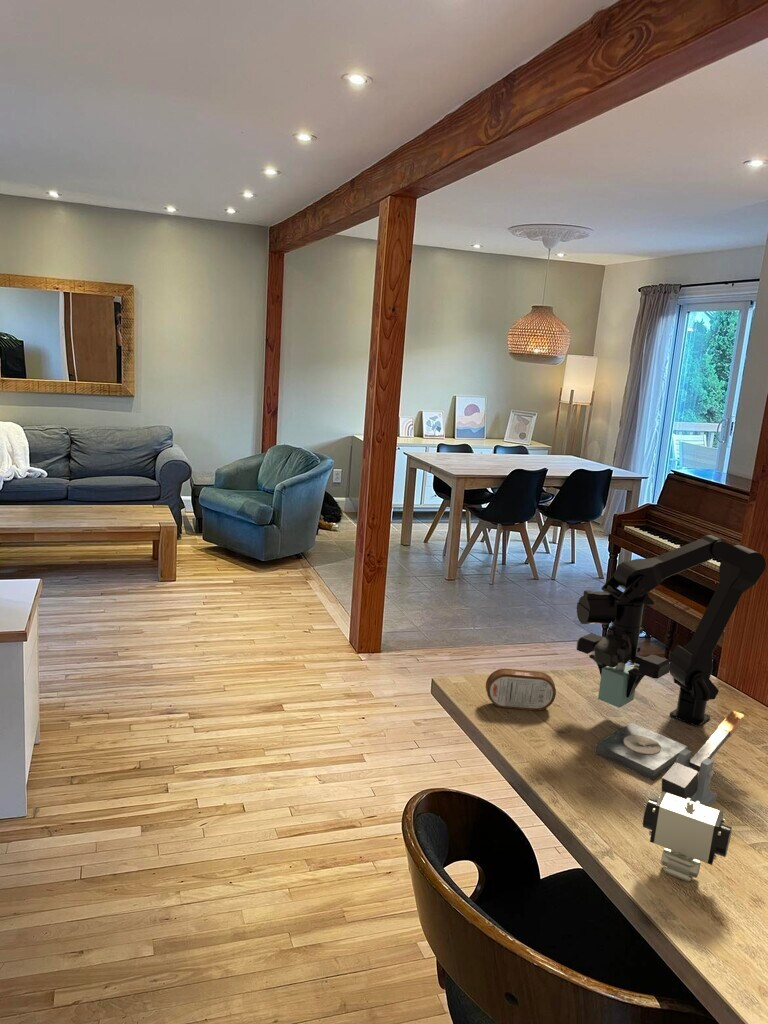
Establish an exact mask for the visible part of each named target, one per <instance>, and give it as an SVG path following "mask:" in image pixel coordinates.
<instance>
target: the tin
mask: <svg viewBox="0 0 768 1024" xmlns="http://www.w3.org/2000/svg"><path fill="white" fill-rule="evenodd" d="M556 689H557V688H556V685H555V682H554V680H553V678H552V677H551V676H550V675H548V674H547V673H545V672H543V671H537V670H526V669H514V668H500V669H497V670H495V671H493V672H492V673H491V674H490V675H489V676H488V677H487V679H486V683H485V690H486V694H487V697H488V699H489V701H490V702H491V703H492V704H493V705H494V706H497V707H499V708H503V709H516V710H527V711H543V710H546V709H547V708H549V707H550V706H551V705H552V704H554V701H555V699H556V694H557V691H556Z"/></svg>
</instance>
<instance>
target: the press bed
mask: <svg viewBox="0 0 768 1024" xmlns="http://www.w3.org/2000/svg"><path fill="white" fill-rule="evenodd" d="M688 748H689V747H688V745H685V744H683V743H681V742H679V741H676V740H675V739H674V740H673V739H672V738H669V737H666V736H664V735H662V734H660V733H656V731H655V732H654V731H653V730H650V729H648V728H645V727H643V726H641V725H638V724H635V723H633V722H630V723H629V724H627V725H625V726H624V727H622V728H620V729H619V730H617V731H615V732H613V733H611V734H609V735H608V736H607V737H605V738H603V739H602V740H600V741H598V742H596V743H595V751H594V753H595V754H596V755H598V756H600V757H602V758H605V759H606V760H609V761H611V762H613V763H615V764H617V765H618V766H619V765H620V766H621V767H624V768H625V769H627V770H630V771H632V772H634V773H636V774H638V775H641V776H643V777H645V778H647V779H649V780H651V781H653V780H654V779H657V778H658V777H659V776H661V774H663V773H665V772H667V771H668V770H669V769H670V768H671V767H672V766H673V765H674V764H675V762H676V759H677V757H678V755H679V752H681V751H682V750H683V749H688Z"/></svg>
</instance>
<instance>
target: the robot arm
mask: <svg viewBox="0 0 768 1024" xmlns="http://www.w3.org/2000/svg"><path fill="white" fill-rule="evenodd" d="M714 559H719V560H720V563H719V568H718V569H719V570H718V571H719V575H718V576H719V583H718V585H717V587H716V589H715V590H714V593H713V595H712V597H711V599H710V601H709V603H708V604H707V607H706V610H705V611H704V612H703V615H702V617H701V619H700V621H699V623H698V625H697V627H696V629H695V631H694V632H693V635H692V637H691V639H690V640H689V642H688V643H686V644H685V645H683V646H681V645H679V644H677V645H675V647H674V650H673V652H672V654H671V656H670V657H669V658H668V659H667V658H665V657H661V656H658V655H656V654H650V655H648V656H646V657H645V656H641V655H639V654H638V653H640V651H641V646H639V642H640V635H641V634H643V632H644V628H643V627H642V620H643V615H644V605H645V606H646V605H647V606H648V605H649V606H652V605H653V606H654V604H655V601H654V600H653V599H652V598H651V597H650V595H649V593H650V592H651V591H653V590H655V589H657V588H658V587H659V585H660V584H661V583H662V582H663V581H664V580H665V579H667V578H670V577H671V576H674V575H676V574H680V573H681V572H684V571H687V570H688V569H691V568H692V569H693V567H697V566H698V565H701V564H703V563H706V562H708V561H711V560H714ZM766 568H767V562H766V558H765V557H764V555H763V554H761V553H760V552H758V551H755V550H753V549H751V548H749V547H746V546H744V545H740V544H736V545H735V544H734V545H732V544H730V543H728V542H726V541H725V540H724V539H721V538H720V537H717V536H715V535H712V534H707V535H703V536H702V537H701V538H699V539H697V540H695V541H692V542H690V543H687V544H684V545H681V546H680V547H677V548H674V549H672V550H669V551H667V552H665V553H663V554H660V555H657V556H654V557H649V558H636V559H631V560H626V561H623V562H621V563H619V564H618V565H617V566H616V569H615V570H614V573H613V574H612V576H610V577H609V578H608V579H607V581H606V582H605V583H604V584H603V586H602V587H601V590H600V591H593V590H590V589H589V590H584V591H583V595H582V596H581V597H580V598H579V600H578V602H576V615H577V620H578V621H579V623H580V624H583V625H610V624H611V626H608V629H607V631H606V635H605V636H601V635H598V634H595V633H592V632H591V633H589V634H586V635H583V636H581V637H579V638H578V640H577V641H576V651H579V652H582V653H584V654H587V655H588V657H589V659H590V660H591V659H592V660H593V661H594V662H595V663H596V665H597V667H598V670H599V675H600V676H601V673H602V668H604V667H606V666H609V667H616V666H617V665H618V663H623V664H625V665H627V663H631V664H633V669H631V670H629V671H628V673H629V675H630V677H629V682H628V687H627V696H626V697H627V698H629V697H630V696H631V695H632V693H633V692H634V690H635V691H636V689H637V688H638V685H639V684H640V683H641V681H642V679H644V677H645V676H646V677H648V678H652V679H657V680H658V679H660V678H661V677H664V676H665V675H667V674H670V675H671V677H672V678H673V679H672V680H673V683H674V684H676V685H678V686H679V692H678V698H677V705H676V708H675V709H673V710H672V711H670V712H669V716H671V717H673V718H675V719H678V720H680V721H683V722H685V723H688V724H691V725H693V726H696V727H700V726H702V724H705V723H706V721H708V720H710V719H711V715H709V714H708V713H706V711H707V709H706V708H707V703H708V702H709V701H710V700H715V699H717V696H718V693H719V692H720V691H719V689H718V688H717V686H716V685H715V684H714V683H713V681H712V680H711V679H710V678H711V675H712V672H713V670H714V661H713V659H714V658H713V654H714V651H715V649H716V647H717V645H718V643H719V642H720V640H721V637H722V635H723V633H724V631H725V629H726V627H727V625H728V623H729V621H730V620H731V617H732V615H733V613H734V611H735V609H736V608H737V606H738V604H739V601H740V599H741V597H742V595H743V594H744V592H746V591H748V590H749V589H750V588H752V587H753V586H755V585H756V584H757V583H758V581H759V580H760V579H761V577H762V576H763V574H764V573H765V572H766ZM618 588H620V589H622V590H623V591H622V590H620V589H618ZM590 653H591V654H590Z"/></svg>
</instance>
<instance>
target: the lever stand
mask: <svg viewBox="0 0 768 1024" xmlns="http://www.w3.org/2000/svg"><path fill="white" fill-rule="evenodd" d="M691 757H692V750H689V749H688V748H687V749H683V750H682V751H681V752H679V755H678V757H677V759H676V762H677V763H679V764H682V765H684V766H686V767H688V768H690V767H689V761H690V760H691ZM713 767H714V760H713V759H712V758H711V759H709V758H706V759H705V760H703V761H702V762H701V766H700V771H698V786H697V792H696V793H695V794H694V795H693V797H692V798H691V801H693V802H696V801H699V802H700V804H701V805H704V806H707V807H710V806H711V805H712V804H714V803H715V802H716V800H717V796H718V794H717V793H716V792H712V791H711V790H710V784H711V778H713V775H714V770H713Z"/></svg>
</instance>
